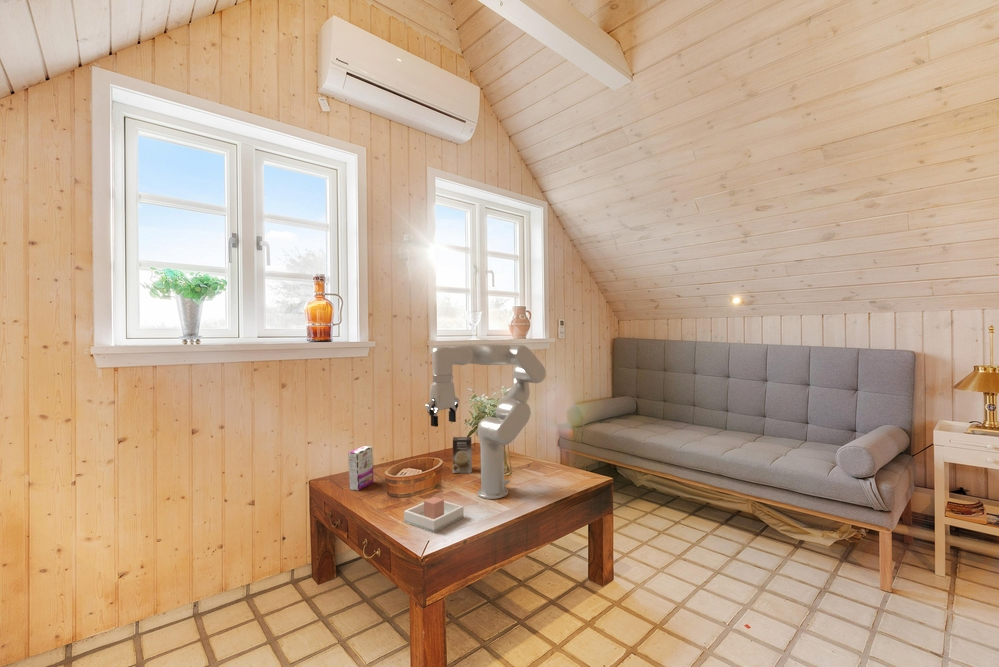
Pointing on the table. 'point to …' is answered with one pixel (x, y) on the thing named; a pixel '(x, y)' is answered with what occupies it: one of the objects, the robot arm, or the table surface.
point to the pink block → (433, 508)
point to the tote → (418, 519)
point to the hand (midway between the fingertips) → (443, 423)
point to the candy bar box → (360, 468)
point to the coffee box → (462, 455)
